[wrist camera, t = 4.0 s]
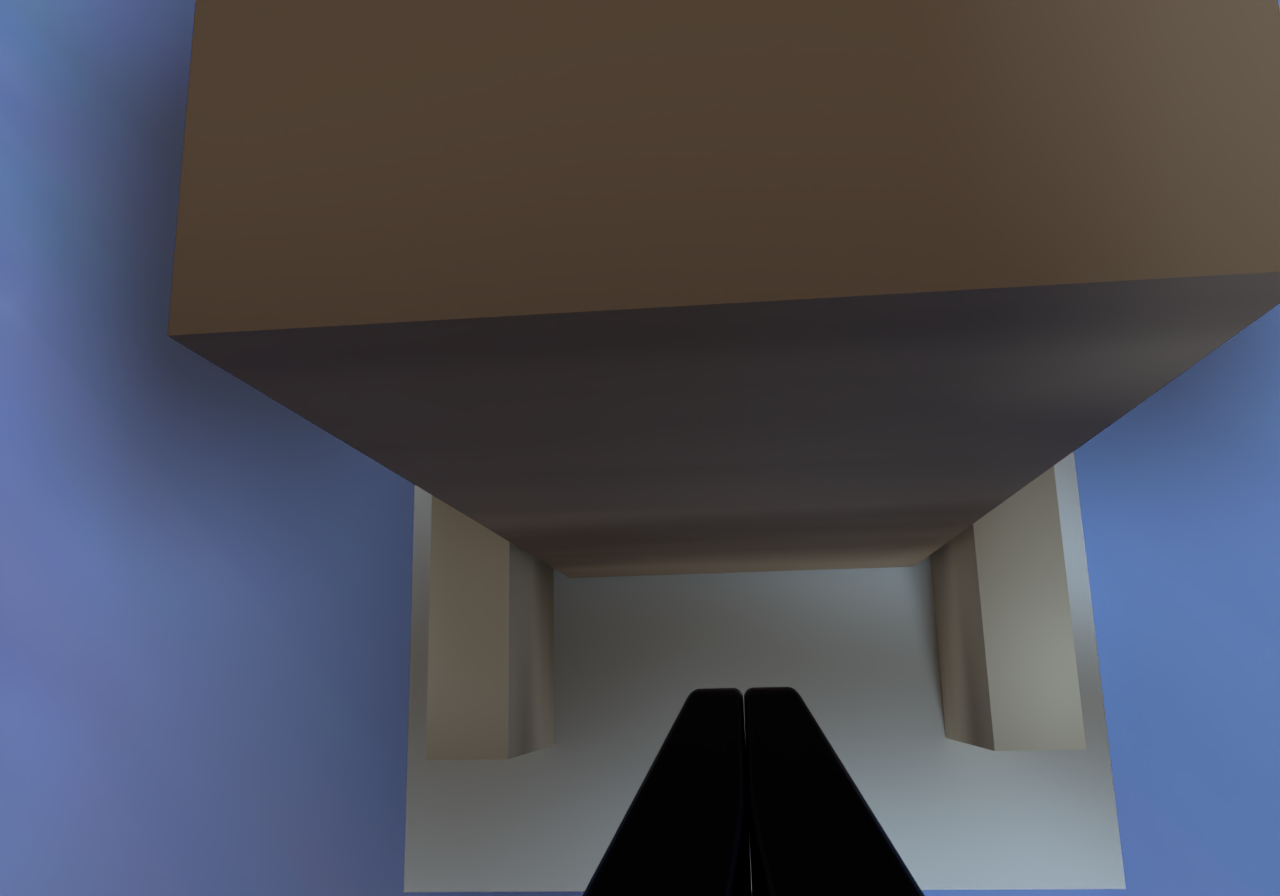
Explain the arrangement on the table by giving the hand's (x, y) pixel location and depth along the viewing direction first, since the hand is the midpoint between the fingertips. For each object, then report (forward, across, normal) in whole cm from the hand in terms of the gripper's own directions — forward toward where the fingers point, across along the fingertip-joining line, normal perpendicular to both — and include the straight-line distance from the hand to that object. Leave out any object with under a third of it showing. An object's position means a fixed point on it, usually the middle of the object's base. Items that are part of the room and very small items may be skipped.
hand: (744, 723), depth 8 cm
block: (+8, 0, +1) cm, 8 cm away
